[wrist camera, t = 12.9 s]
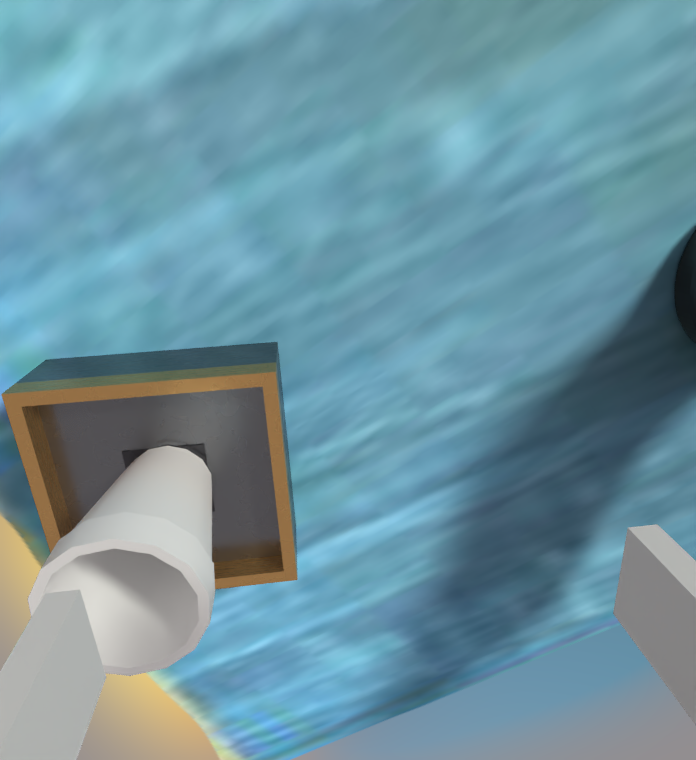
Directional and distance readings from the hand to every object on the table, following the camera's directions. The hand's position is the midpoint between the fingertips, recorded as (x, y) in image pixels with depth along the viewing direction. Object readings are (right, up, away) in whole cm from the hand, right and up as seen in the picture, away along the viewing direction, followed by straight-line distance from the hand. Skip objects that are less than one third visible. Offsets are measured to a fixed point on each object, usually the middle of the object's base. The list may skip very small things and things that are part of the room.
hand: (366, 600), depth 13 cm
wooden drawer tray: (-15, -1, +33) cm, 36 cm away
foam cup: (-14, -2, +28) cm, 32 cm away
